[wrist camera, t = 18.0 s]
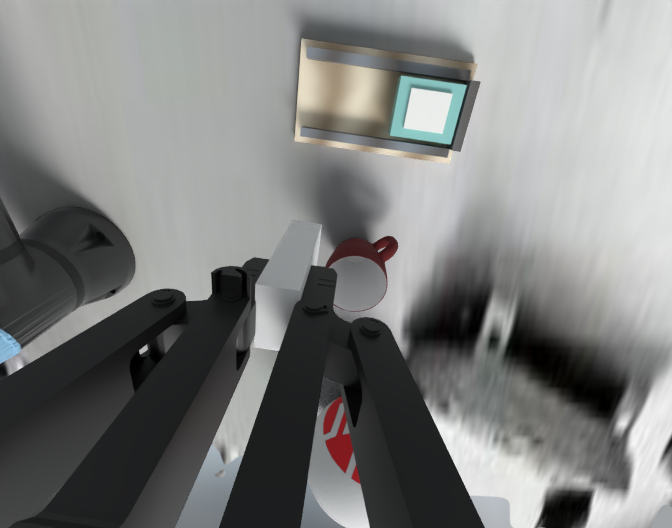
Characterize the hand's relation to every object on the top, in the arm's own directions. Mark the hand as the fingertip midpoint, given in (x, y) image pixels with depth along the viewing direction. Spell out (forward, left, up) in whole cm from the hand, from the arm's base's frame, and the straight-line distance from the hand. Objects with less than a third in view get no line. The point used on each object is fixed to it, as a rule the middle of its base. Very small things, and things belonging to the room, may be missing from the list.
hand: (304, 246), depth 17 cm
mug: (+5, -12, -30) cm, 32 cm away
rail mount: (+4, +7, -29) cm, 30 cm away
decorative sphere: (+11, -45, -30) cm, 55 cm away
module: (+9, +7, -28) cm, 31 cm away
